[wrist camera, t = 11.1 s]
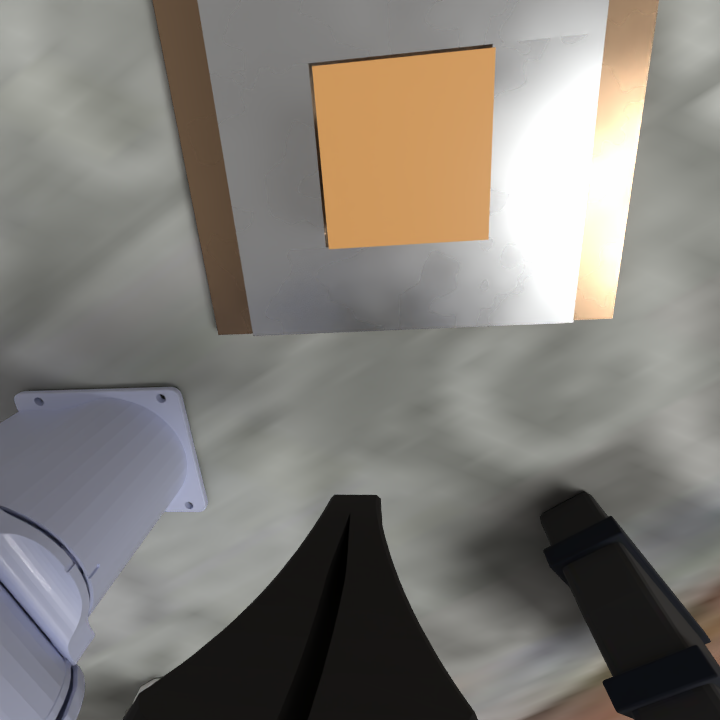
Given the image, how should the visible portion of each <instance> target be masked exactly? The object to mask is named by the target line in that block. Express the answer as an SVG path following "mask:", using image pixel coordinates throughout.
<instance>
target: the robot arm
mask: <svg viewBox="0 0 720 720" xmlns="http://www.w3.org/2000/svg"><path fill="white" fill-rule="evenodd" d="M160 394H162V395H164V396H165V398H166V400H165V399H162V398H161V396H160ZM40 398H41V399H42V400H43V402H42V401H41V399H40ZM14 402H15V405H16V407H17V410H18V412H17V413H16V414H14V415H12V416H11V417H9V418H7V419H6V420H4V421H2V422H1V423H0V720H76V719H77V717H78V714H79V712H80V709H81V706H82V702H83V698H84V693H85V679H84V674H83V672H82V670H81V668H80V667H79V666H78V665H77V664H76V663H77V662H78V660H79V659H80V657H81V656H82V654H83V653H84V651H85V650H86V648H87V647H88V645H89V644H90V642H91V641H92V639H93V638H94V636H95V633H94V632H93V630H92V628H91V627H90V624H89V622H88V617H89V616H90V614H91V613H92V611H93V610H94V609H95V607H96V606H97V605H98V603H99V602H100V600H101V599H102V598H103V596H104V595H105V593H106V592H107V591H108V589H109V588H110V586H111V585H112V584H113V582H114V581H115V579H116V578H117V577H118V575H119V574H120V572H121V571H122V570H123V568H124V567H125V566H126V564H127V563H128V561H129V560H130V559H131V557H132V556H133V554H134V553H135V552H136V550H137V549H138V547H139V546H140V545H141V543H142V542H143V540H144V539H145V538H146V536H147V535H148V534H149V532H150V531H151V529H152V528H153V527H154V525H155V524H156V522H157V521H158V520H159V518H160V517H161V515H162V514H163V513H164V512H201V511H203V510H205V508H206V507H207V505H208V500H207V496H206V492H205V488H204V484H203V480H202V475H201V471H200V467H199V463H198V459H197V455H196V451H195V447H194V442H193V438H192V434H191V430H190V426H189V422H188V418H187V413H186V409H185V405H184V401H183V397H182V394H181V392H180V391H179V390H178V389H177V388H175V387H149V388H115V389H82V390H48V391H23V392H20V393H18V394H17V395H15V397H14ZM189 502H191V503H192V504H193V505H192V504H190V503H189ZM123 720H478V719H477V716H476V714H475V712H474V711H473V709H472V708H471V706H470V705H469V704H468V702H467V701H466V699H465V698H464V696H463V695H462V694H461V692H460V691H459V689H458V688H457V686H456V685H455V683H454V682H453V680H452V679H451V677H450V676H449V674H448V672H447V671H446V669H445V668H444V666H443V664H442V663H441V661H440V660H439V658H438V656H437V654H436V653H435V651H434V649H433V647H432V646H431V644H430V642H429V640H428V639H427V637H426V635H425V633H424V631H423V630H422V628H421V626H420V624H419V622H418V620H417V618H416V616H415V614H414V612H413V610H412V608H411V606H410V604H409V601H408V599H407V597H406V595H405V592H404V590H403V588H402V585H401V583H400V580H399V578H398V575H397V572H396V570H395V567H394V564H393V561H392V559H391V556H390V552H389V549H388V545H387V542H386V539H385V535H384V531H383V526H382V513H381V498H379V497H378V496H377V495H334V496H333V497H332V498H331V499H330V501H329V503H328V505H327V506H326V508H325V510H324V511H323V513H322V515H321V516H320V518H319V519H318V521H317V522H316V524H315V525H314V527H313V529H312V530H311V531H310V533H309V534H308V536H307V537H306V538H305V540H304V541H303V543H302V544H301V546H300V547H299V548H298V550H297V551H296V552H295V554H294V555H293V556H292V557H291V559H290V560H289V561H288V562H287V564H286V565H285V566H284V568H283V569H282V570H281V571H280V572H279V574H278V575H277V576H276V577H275V578H274V580H273V581H272V582H271V583H270V584H269V585H268V586H267V587H266V589H265V590H264V591H263V592H262V593H261V594H260V595H259V596H258V597H257V598H256V599H255V600H254V601H253V602H252V603H251V604H250V605H249V606H248V607H247V608H246V609H245V610H244V611H243V612H242V613H241V614H240V615H239V616H238V617H237V618H236V619H235V620H234V621H233V622H231V623H230V624H229V625H228V626H227V627H226V628H225V629H224V630H223V631H221V632H220V633H219V634H218V635H217V636H215V637H214V638H213V639H212V640H211V641H209V642H208V643H207V644H206V645H205V646H203V647H202V648H201V649H200V650H199V651H197V652H196V653H195V654H194V655H192V656H191V657H190V658H189V659H187V660H186V661H185V662H183V663H182V664H181V665H179V666H178V667H176V668H175V669H174V670H172V671H171V672H169V673H168V674H166V675H165V676H164V677H162V678H161V679H159V680H158V681H156V682H155V683H154V684H152V685H151V686H149V687H148V688H146V689H145V690H143V691H142V692H140V693H139V694H138V696H137V698H136V699H135V701H134V703H133V704H132V706H131V707H130V709H129V710H128V712H127V713H126V715H125V716H124V718H123Z"/></svg>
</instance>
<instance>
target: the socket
mask: <svg viewBox="0 0 720 720" xmlns="http://www.w3.org/2000/svg"><path fill="white" fill-rule="evenodd" d="M658 2H659V0H153V5H154V10H155V16H156V21H157V26H158V31H159V36H160V41H161V46H162V51H163V56H164V61H165V66H166V71H167V76H168V81H169V87H170V92H171V97H172V102H173V107H174V112H175V117H176V122H177V127H178V132H179V137H180V142H181V147H182V152H183V158H184V163H185V168H186V173H187V178H188V183H189V188H190V193H191V198H192V203H193V208H194V213H195V218H196V223H197V228H198V234H199V239H200V244H201V249H202V254H203V259H204V264H205V269H206V274H207V279H208V284H209V289H210V294H211V299H212V305H213V310H214V315H215V320H216V325H217V330H218V335H228V334H252V333H253V336H261V335H285V334H310V333H334V332H358V331H382V330H406V329H430V328H454V327H479V326H503V325H527V324H551V323H573V320H585V319H609V318H612V317H613V310H614V304H615V297H616V290H617V283H618V276H619V269H620V263H621V256H622V249H623V242H624V235H625V228H626V221H627V215H628V208H629V201H630V194H631V187H632V180H633V174H634V167H635V160H636V153H637V146H638V139H639V132H640V126H641V119H642V112H643V105H644V98H645V91H646V85H647V78H648V71H649V64H650V57H651V50H652V43H653V37H654V30H655V23H656V16H657V9H658ZM494 47H496V54H495V81H494V107H493V134H492V161H491V188H490V215H489V240H474V241H458V242H441V243H424V244H408V245H391V246H375V247H358V248H341V249H329V244H328V234H327V223H326V212H325V201H324V190H323V180H322V169H321V158H320V147H319V136H318V126H317V115H316V104H315V93H314V82H313V72H312V66H320V65H330V64H340V63H349V62H359V61H369V60H378V59H388V58H398V57H407V56H417V55H427V54H436V53H446V52H456V51H465V50H475V49H485V48H494Z"/></svg>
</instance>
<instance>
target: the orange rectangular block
mask: <svg viewBox="0 0 720 720" xmlns="http://www.w3.org/2000/svg"><path fill="white" fill-rule="evenodd" d="M495 54H496V47H494V48H485V49H475V50H465V51H456V52H446V53H436V54H427V55H417V56H407V57H398V58H388V59H378V60H369V61H359V62H349V63H340V64H330V65H320V66H312V72H313V82H314V93H315V104H316V115H317V126H318V136H319V147H320V158H321V169H322V180H323V190H324V201H325V212H326V223H327V234H328V244H329V249H341V248H358V247H375V246H391V245H408V244H424V243H441V242H458V241H474V240H489V215H490V188H491V161H492V134H493V107H494V81H495Z"/></svg>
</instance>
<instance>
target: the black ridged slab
mask: <svg viewBox="0 0 720 720" xmlns="http://www.w3.org/2000/svg"><path fill="white" fill-rule="evenodd" d="M540 520H541V524H542V526H543V528H544V530H545V533H546V535H547V537H548V539H549V542H550V544H551V546H550V547H548V548H546V549H544V550H543V551H544V554H545V556H546V559H547V561H548V563H549V566H550V567H551V569H552V570H553V571H554V572H555V573H556V574H557V575H558V576H559V577H560V578H561V579H562V580H563V581H564V582H565V583H566V584H567V585H568V586H569V587H570V588H571V591H572V593H573V595H574V597H575V599H576V602H577V604H578V606H579V608H580V610H581V612H582V615H583V617H584V619H585V621H586V623H587V625H588V627H589V629H590V631H591V633H592V635H593V637H594V639H595V641H596V643H597V645H598V647H599V650H600V652H601V654H602V656H603V658H604V660H605V662H606V664H607V666H608V668H609V670H610V672H611V674H612V676H613V677H611V678H609V679H606V680H604V681H603V685H604V687H605V689H606V691H607V693H608V695H609V697H610V699H611V701H612V704H613V706H614V708H615V710H616V711H617V713H620V714H623V715H625V716H628V717H630V718H633V719H634V720H720V666H719V665H718V663H717V662H716V660H715V659H714V657H713V656H712V655H711V653H710V652H709V650H708V649H707V647H706V646H705V644H707V643H710V642H711V641H710V639H709V638H708V636H707V635H706V633H705V632H704V631H703V629H702V628H701V627H700V626H699V624H698V623H697V622H696V621H695V619H694V618H693V617H692V616H691V614H690V613H689V612H688V611H687V609H686V608H685V607H684V606H683V604H682V603H681V602H680V601H679V599H678V598H677V597H676V596H675V594H674V593H673V592H672V591H671V589H670V588H669V587H668V586H667V584H666V583H665V582H664V581H663V579H662V578H661V577H660V576H659V574H658V573H657V572H656V571H655V569H654V568H653V567H652V566H651V564H650V563H649V562H648V561H647V559H646V558H645V557H644V556H643V554H642V553H641V552H640V551H639V549H638V548H637V547H636V546H635V544H634V543H633V542H632V541H631V539H630V538H629V537H628V536H627V534H626V533H625V532H624V531H623V529H622V528H621V527H620V526H619V524H618V523H617V522H616V521H615V519H614V518H613V517H612V516H609V517H608V516H607V514H606V513H605V512H604V511H603V509H602V508H601V507H600V506H599V504H598V503H597V502H596V501H595V499H594V498H593V497H592V496H591V495H590V494H588V493H586V492H584V493H580V494H579V495H577V496H575V497H573V498H571V499H569V500H567V501H566V502H564V503H562V504H560V505H558V506H556V507H554V508H552V509H551V510H549V511H547V512H545V513H543V514H542V515H541V516H540Z"/></svg>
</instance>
